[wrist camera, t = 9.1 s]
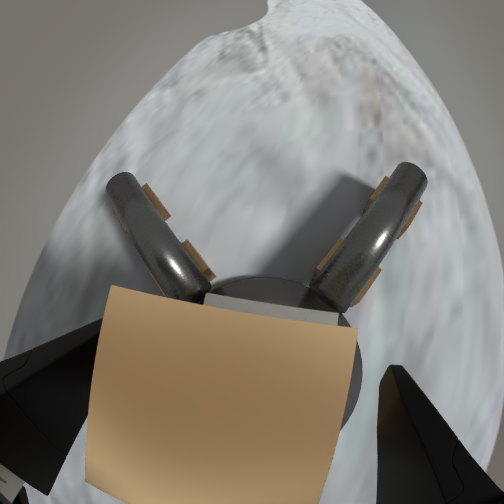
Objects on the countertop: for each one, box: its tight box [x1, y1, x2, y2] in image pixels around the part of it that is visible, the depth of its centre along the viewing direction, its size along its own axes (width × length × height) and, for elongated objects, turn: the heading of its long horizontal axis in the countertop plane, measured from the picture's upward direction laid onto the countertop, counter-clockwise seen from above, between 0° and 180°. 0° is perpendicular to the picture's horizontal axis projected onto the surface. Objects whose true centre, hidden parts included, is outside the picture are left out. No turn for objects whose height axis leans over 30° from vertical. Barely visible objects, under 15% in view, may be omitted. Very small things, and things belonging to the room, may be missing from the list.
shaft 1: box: [106, 172, 216, 304], centre depth 18 cm, size 10×3×4 cm, turn 39°
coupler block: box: [85, 285, 358, 504], centre depth 10 cm, size 5×5×12 cm
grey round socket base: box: [197, 277, 362, 430], centre depth 15 cm, size 12×12×3 cm
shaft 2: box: [309, 162, 428, 313], centre depth 16 cm, size 10×3×4 cm, turn 139°
